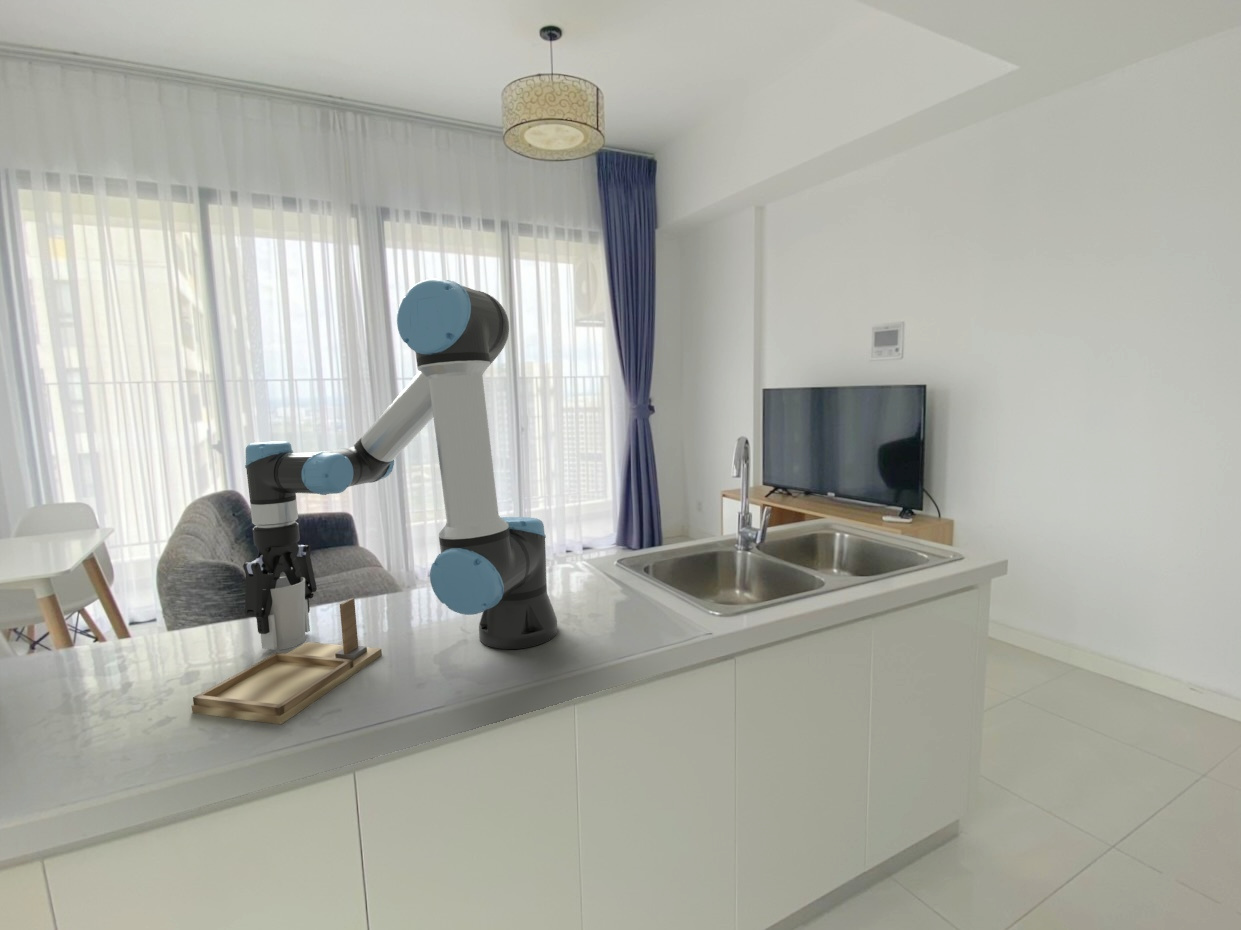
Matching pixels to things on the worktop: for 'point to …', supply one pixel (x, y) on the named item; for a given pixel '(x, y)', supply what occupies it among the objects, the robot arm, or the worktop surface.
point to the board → (289, 678)
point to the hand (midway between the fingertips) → (286, 639)
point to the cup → (288, 612)
